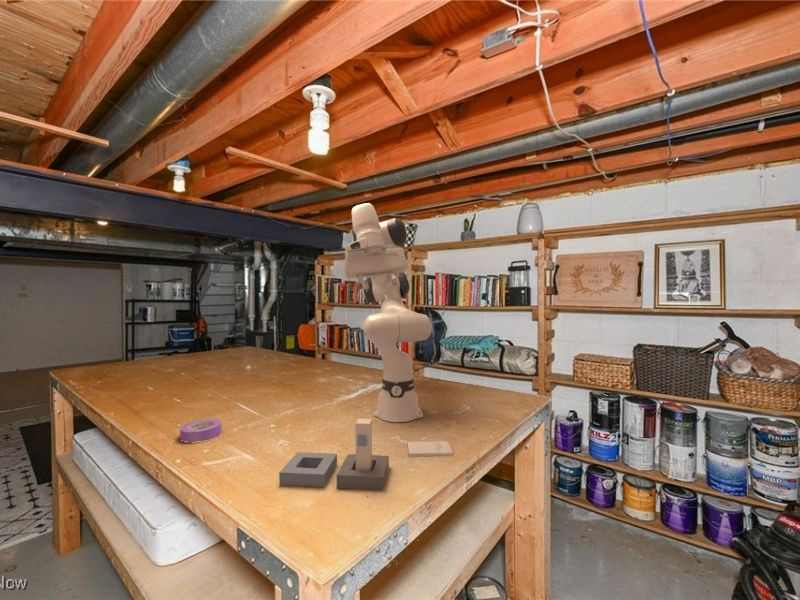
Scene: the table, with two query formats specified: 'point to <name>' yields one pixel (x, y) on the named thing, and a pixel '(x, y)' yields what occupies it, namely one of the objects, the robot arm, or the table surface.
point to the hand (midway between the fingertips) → (381, 286)
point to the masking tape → (200, 430)
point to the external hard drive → (429, 448)
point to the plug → (363, 444)
